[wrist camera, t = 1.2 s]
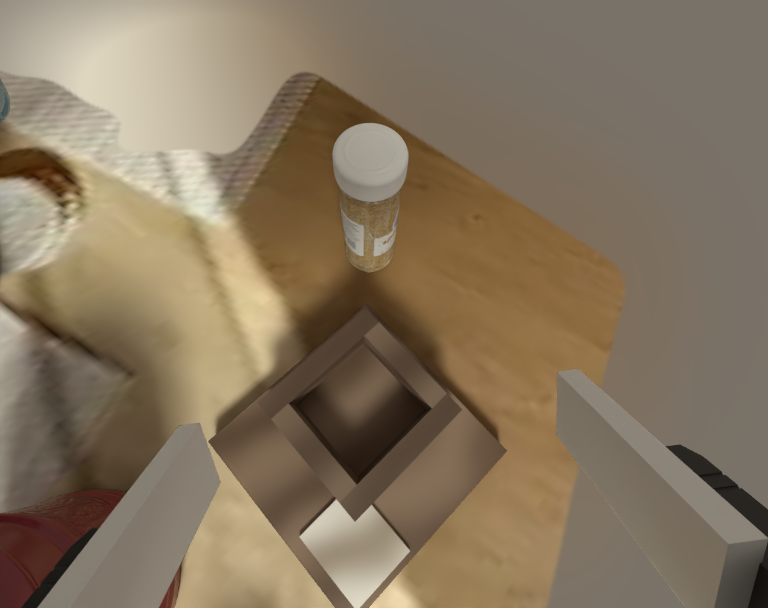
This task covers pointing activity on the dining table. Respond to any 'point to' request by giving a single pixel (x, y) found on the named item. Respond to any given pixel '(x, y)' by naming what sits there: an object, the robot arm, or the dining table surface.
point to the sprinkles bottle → (370, 191)
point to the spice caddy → (357, 458)
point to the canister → (52, 541)
